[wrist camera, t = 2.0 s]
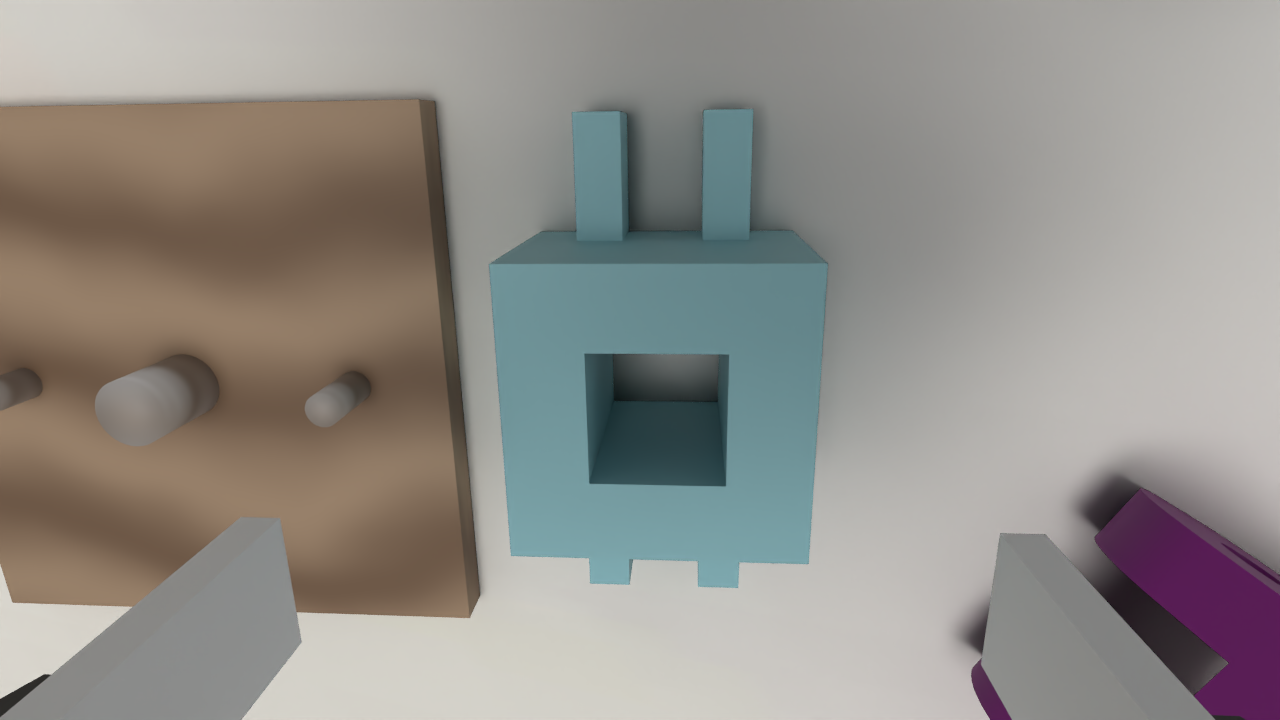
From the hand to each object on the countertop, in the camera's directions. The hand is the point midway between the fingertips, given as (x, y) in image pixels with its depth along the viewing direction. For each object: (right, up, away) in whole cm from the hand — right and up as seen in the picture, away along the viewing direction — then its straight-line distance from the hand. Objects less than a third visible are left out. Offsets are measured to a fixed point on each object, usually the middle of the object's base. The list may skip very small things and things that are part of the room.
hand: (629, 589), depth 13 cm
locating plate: (-17, +4, +15) cm, 23 cm away
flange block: (+1, +5, +14) cm, 15 cm away
